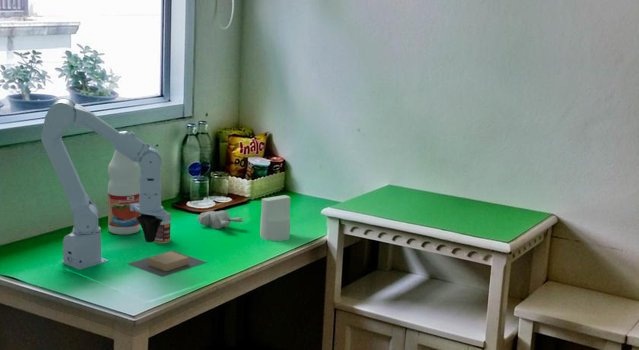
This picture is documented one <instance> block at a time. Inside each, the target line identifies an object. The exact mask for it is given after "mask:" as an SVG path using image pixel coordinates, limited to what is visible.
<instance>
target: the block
mask: <svg viewBox="0 0 639 350" xmlns="http://www.w3.org/2000/svg"><path fill="white" fill-rule="evenodd" d="M170 251H171V252H169V251H167V253H166V252H163V253H164V254H162V253H159V254H160V255H159V254H156V255H157V256H155V255H152V256H153V257H152V256H149V257H150V258H148V257H147V258H148V265H149V266H152V267H155V268H158V269H160V270H163V271H169V270H172V269H176V268H179V267H182V266H185V265H188V264H189V257H187V256H188V255H187V256H184V255H185V254H184V255H181V254H182V253H181V254H178V253H179V252H178V253H175V252H172V251H173V250H170Z"/></svg>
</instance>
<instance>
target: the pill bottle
mask: <svg viewBox="0 0 639 350" xmlns="http://www.w3.org/2000/svg"><path fill="white" fill-rule="evenodd" d="M154 242H155V243H157V244H166V243H167V244H168V243H169V242H171V221H166V222H164V221H163V220H162V222H161V224H160V226H159V228H158V231H157V234H156V238H155V241H154Z"/></svg>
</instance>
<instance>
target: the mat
mask: <svg viewBox="0 0 639 350" xmlns="http://www.w3.org/2000/svg"><path fill="white" fill-rule="evenodd" d="M171 251H172V252H175V253H178V254H181V255H184V256H187V257H189V264H188V265H185V266H182V267H179V268H176V269H172V270H169V271H163V270H160V269H158V268H155V267H152V266H149V265H148V258H150V257H153V256H157V255H160V254H164V253H167V252H171ZM167 252H162V253H158V254H155V255H152V256H149V257H146V258H143V259H139V260H135V261H132V262H128V263H127V265H129V266H132V267H134V268H137V269H140V270H141V271H145V272H148V273H151V274H152V275H155V276H158V277H162V278H163V277H166V276H169V275H173V274H176V273H178V272H182V271H185V270H188V269H191V268H195V267H198V266H200V265H204V264H207V263H208V262H207V261H205V260H201V259H199V258H196V257H193V256H190V255H188V254H187V255H186V254H185V253H182V252H179V251H175V250H170V251H167Z"/></svg>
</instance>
